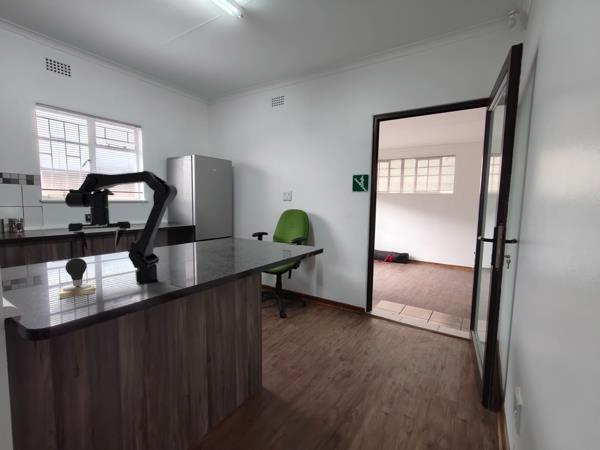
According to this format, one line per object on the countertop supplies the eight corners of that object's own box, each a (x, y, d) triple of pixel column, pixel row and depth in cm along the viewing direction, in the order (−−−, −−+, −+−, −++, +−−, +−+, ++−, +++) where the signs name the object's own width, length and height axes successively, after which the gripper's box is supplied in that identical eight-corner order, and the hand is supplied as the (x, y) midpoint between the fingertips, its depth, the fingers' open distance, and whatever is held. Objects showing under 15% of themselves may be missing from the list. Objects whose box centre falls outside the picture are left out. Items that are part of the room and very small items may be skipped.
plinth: (93, 286, 100) (93, 281, 100) (95, 292, 94) (94, 287, 93) (60, 291, 95) (60, 286, 95) (60, 298, 88) (59, 293, 88)
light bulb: (73, 290, 90) (70, 260, 90) (63, 288, 93) (60, 259, 92) (92, 285, 96) (89, 257, 95) (82, 283, 98) (79, 256, 97)
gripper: (125, 207, 116) (127, 243, 117) (67, 207, 104) (70, 248, 105) (129, 207, 107) (131, 247, 109) (67, 207, 95) (70, 252, 97)
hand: (101, 248), depth 105 cm, fingers open, 9 cm apart
